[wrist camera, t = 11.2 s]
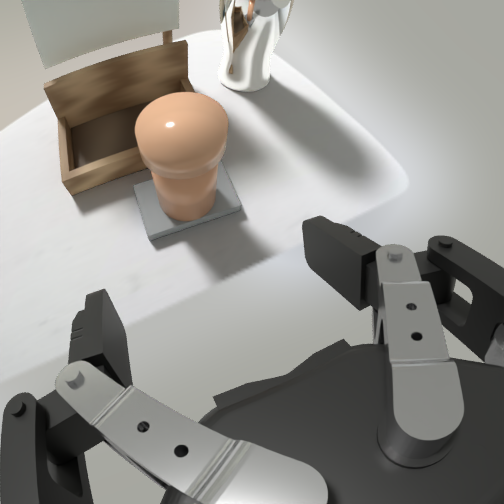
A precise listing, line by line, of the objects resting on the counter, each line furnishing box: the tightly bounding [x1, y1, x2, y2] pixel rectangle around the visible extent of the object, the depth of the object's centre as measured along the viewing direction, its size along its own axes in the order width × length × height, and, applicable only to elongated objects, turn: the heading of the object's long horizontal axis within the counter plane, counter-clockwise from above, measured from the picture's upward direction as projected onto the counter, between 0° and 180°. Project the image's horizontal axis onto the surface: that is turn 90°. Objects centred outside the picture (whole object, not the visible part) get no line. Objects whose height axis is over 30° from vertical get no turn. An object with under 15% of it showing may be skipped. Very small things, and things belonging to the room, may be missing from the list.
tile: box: [133, 160, 241, 241], centre depth 26 cm, size 8×5×1 cm, turn 113°
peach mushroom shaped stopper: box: [135, 92, 228, 221], centre depth 22 cm, size 6×6×9 cm
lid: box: [22, 0, 179, 69], centre depth 20 cm, size 14×1×9 cm, turn 113°
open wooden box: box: [44, 30, 195, 196], centre depth 24 cm, size 14×13×12 cm
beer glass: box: [218, 0, 294, 92], centre depth 26 cm, size 7×7×15 cm
